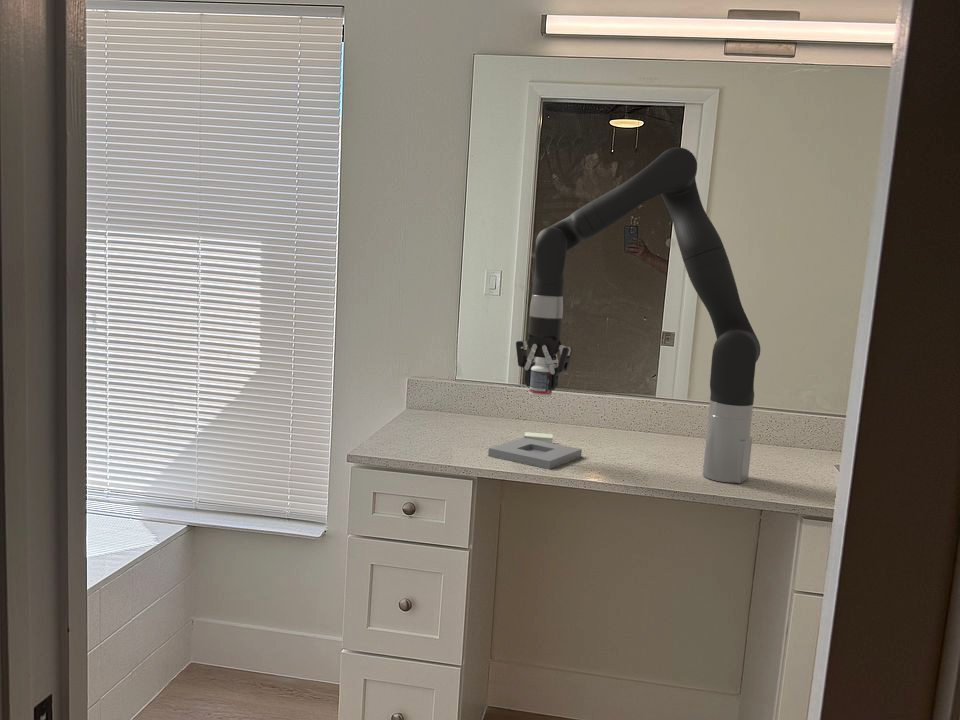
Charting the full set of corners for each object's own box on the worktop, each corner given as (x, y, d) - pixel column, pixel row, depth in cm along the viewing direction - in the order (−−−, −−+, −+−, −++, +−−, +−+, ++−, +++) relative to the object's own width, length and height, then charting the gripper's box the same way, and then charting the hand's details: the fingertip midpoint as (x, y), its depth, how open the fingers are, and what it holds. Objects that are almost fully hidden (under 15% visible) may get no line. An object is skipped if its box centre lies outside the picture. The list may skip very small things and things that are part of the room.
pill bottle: (550, 397, 196) (553, 359, 195) (527, 395, 197) (530, 357, 196) (552, 394, 201) (555, 356, 200) (530, 391, 202) (533, 354, 201)
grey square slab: (581, 456, 203) (581, 449, 203) (548, 469, 190) (549, 461, 190) (523, 444, 212) (523, 437, 211) (488, 455, 198) (488, 448, 198)
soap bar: (552, 443, 216) (552, 434, 216) (551, 448, 211) (552, 438, 211) (524, 441, 216) (524, 432, 216) (523, 445, 212) (524, 435, 212)
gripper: (581, 317, 196) (575, 390, 198) (527, 311, 203) (522, 382, 206) (566, 319, 189) (560, 394, 192) (510, 312, 197) (505, 385, 199)
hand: (540, 387), depth 199 cm, fingers closed on pill bottle, 5 cm apart
